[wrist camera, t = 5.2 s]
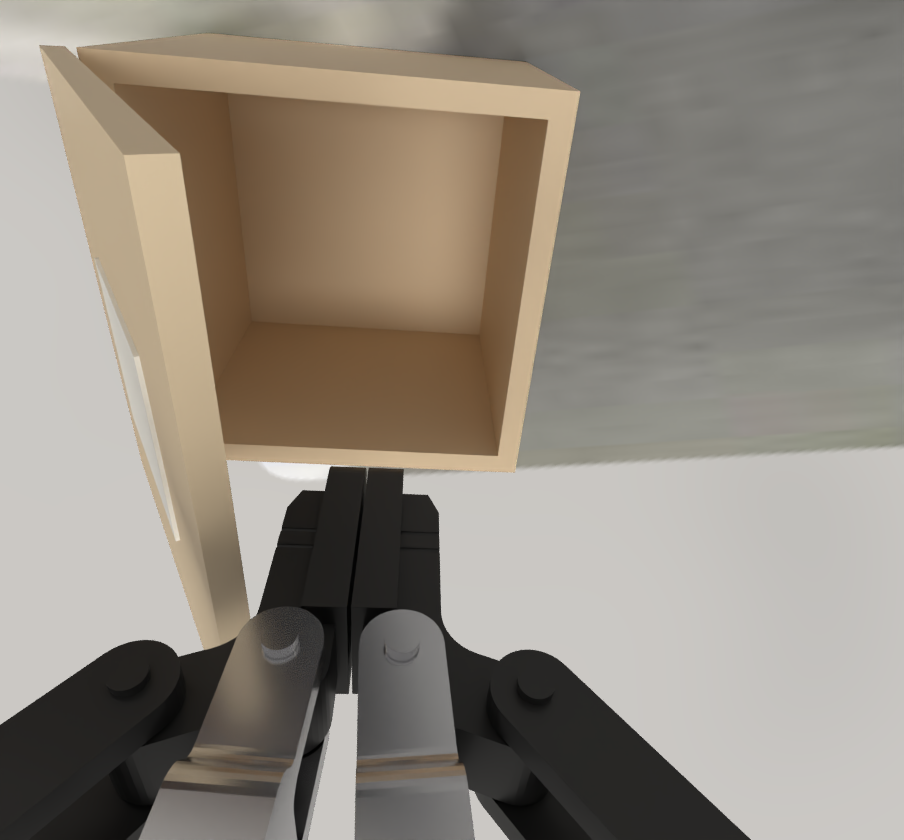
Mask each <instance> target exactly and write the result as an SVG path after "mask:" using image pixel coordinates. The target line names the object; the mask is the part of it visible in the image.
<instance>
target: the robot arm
mask: <svg viewBox="0 0 904 840" xmlns="http://www.w3.org/2000/svg"><path fill="white" fill-rule="evenodd" d="M403 472H404V469H384V468H369V470H368V477H367V471H366V468H357V467H333V466H331V467H330V470H329V474H328V479H327V483H326V488H325V491H307V490H303V491H302V492H301V493H300V494H299V495H298V496H297V497H296V498H295V499H294V501H293V502H292V503H291V504H290V505H289V506H288V507H287V511H286V514H285V518H284V521H283V525H282V531H281V532H280V536H279V539H278V543H277V548H276V550H275V553H274V557H273V561H272V564H271V568H270V571H269V575H268V579H267V582H266V586H265V589H264V593H263V596H262V600H261V604H260V607H259V610H258V613H257V615H256V616H254V617H253V618H252V619H250V620H249V621H248V622H247V623H246V624H245V625H244V626H243V628H242V629H241V630H240V632H239V634H238V636H237V637H235V638H234V639H232V640H230V641H229V642H227V643H224V644H222V645H220V646H217V647H214V648H211V649H207V650H203V651H199V652H195V653H191V654H187V655H184V656H180V657H178V656H177V654H176V653H175V652H174V650H173V649H172V648H170V647H169V646H168V645H166V644H164V643H161V642H158V641H153V640H152V641H151V640H140V641H133V642H129V643H126V644H123V645H120V646H118V647H116V648H113V649H111V650H110V651H108V652H107V653H105V654H103V655H102V656H100V657H99V658H97V659H96V660H95V661H93V662H92V663H90V664H89V665H87V666H86V667H84V668H83V669H81V670H80V671H78V672H77V673H76V674H74V675H73V676H71V677H70V678H68V679H67V680H65V681H64V682H62V683H61V684H60V685H58V686H56V687H55V688H54V689H52V690H51V691H49V692H48V693H46V694H45V695H44V696H42V697H41V698H39V699H37V700H36V701H35V702H33V703H32V704H30V705H29V706H28V707H26V708H24V709H23V710H21V711H20V712H18V713H17V714H16V715H14V716H13V717H11V718H10V719H8V720H7V721H5V722H4V723H2V724H1V725H0V840H308V835H309V830H310V825H311V820H312V816H313V811H314V807H315V802H316V797H317V792H318V788H319V782H320V778H321V773H322V769H323V764H324V759H325V754H326V750H327V745H328V740H329V729H330V726H331V722H332V716H333V708H334V701H335V694H349V686H350V677H351V668H352V693H353V694H358V719H357V721H358V722H357V768H356V794H355V795H356V798H355V840H475V838H474V829H473V821H472V813H471V805H470V797H469V789H470V790H472V791H475V793H476V796H477V798H478V800H479V801H480V803H481V804H482V806H483V807H484V808H485V810H486V811H487V812H488V813H489V815H490V816H491V817H492V818H493V820H494V821H495V822H496V823H497V825H498V826H499V827H500V828H501V830H502V831H503V832H504V834H505V835H506V836H507V837H508V839H509V840H751V839H750V838H749V837H747V836H746V835H745V834H744V833H743V832H742V831H741V830H740V829H739V828H738V827H737V826H736V825H735V824H733V823H732V822H731V821H730V820H729V819H728V818H727V817H726V816H725V815H724V814H723V813H722V812H721V811H720V810H718V808H717V807H715V806H714V805H713V804H712V803H711V802H710V801H709V800H708V799H707V798H706V797H705V796H704V795H703V794H702V793H701V792H699V791H698V790H697V789H696V788H695V787H694V786H693V785H692V784H691V783H690V782H689V781H688V780H687V779H686V778H685V777H684V776H682V775H681V774H680V773H679V772H678V771H677V770H676V769H675V768H674V767H673V766H672V765H671V764H669V762H667V760H665V759H664V758H663V757H662V756H661V755H660V754H659V753H658V752H657V751H656V750H655V749H654V748H653V747H651V745H649V744H648V743H647V742H646V741H645V740H644V739H643V738H642V737H641V736H640V735H639V734H638V733H637V732H636V731H635V730H633V729H632V728H631V727H630V726H629V725H628V724H627V723H626V722H625V721H624V720H623V719H622V718H621V717H620V716H619V715H617V714H616V713H615V712H614V711H613V710H612V709H611V708H610V707H609V706H608V705H607V704H606V703H605V702H604V701H603V700H601V699H600V698H599V697H598V696H597V695H596V694H595V693H594V692H593V691H592V690H591V689H590V688H589V687H588V686H587V685H585V683H583V682H582V681H581V680H580V679H579V678H578V677H577V676H576V675H575V674H574V673H573V672H572V671H571V670H570V669H569V668H567V667H566V666H565V665H564V664H563V663H562V662H561V661H559V660H558V659H556V658H554V657H553V656H551V655H549V654H546V653H544V652H541V651H536V650H520V651H515V652H512V653H510V654H508V655H506V656H505V657H503V658H502V659H501V660H500V661H498V660H495V659H491V658H489V657H486V656H483V655H479V654H477V653H474V652H472V651H469V650H468V649H466V648H464V647H462V646H461V645H460V644H458V643H457V642H456V641H455V640H454V639H453V638H452V637H451V636H450V634H449V633H448V632H447V630H446V628H445V626H444V624H443V621H442V617H441V594H440V554H439V513H438V511H437V509H436V508H435V506H434V504H433V503H432V501H431V499H430V498H429V496H428V495H414V494H413V495H412V494H403Z"/></svg>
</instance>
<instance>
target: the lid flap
mask: <svg viewBox="0 0 904 840" xmlns="http://www.w3.org/2000/svg"><path fill="white" fill-rule="evenodd" d="M39 46H40V50H41V54H42V58H43V62H44V66H45V70H46V74H47V78H48V83H49V87H50V91H51V95H52V99H53V103H54V107H55V111H56V115H57V119H58V123H59V127H60V131H61V135H62V139H63V143H64V147H65V152H66V156H67V160H68V164H69V168H70V172H71V176H72V180H73V184H74V188H75V192H76V196H77V200H78V204H79V208H80V213H81V216H82V220H83V225H84V229H85V233H86V237H87V241H88V245H89V249H90V253H91V257H92V261H93V265H94V269H95V273H96V277H97V282H98V285H99V290H100V294H101V297H102V301H103V306H104V310H105V314H106V318H107V322H108V326H109V330H110V334H111V338H112V342H113V346H114V351H115V354H116V359H117V363H118V367H119V371H120V375H121V379H122V383H123V387H124V391H125V395H126V399H127V403H128V408H129V411H130V415H131V420H132V423H133V428H134V431H135V436H136V440H137V444H138V448H139V452H140V456H141V460H142V463H143V466H144V469H145V472H146V476H147V478H148V482H149V485H150V488H151V491H152V494H153V497H154V500H155V503H156V506H157V509H158V512H159V515H160V518H161V521H162V524H163V527H164V530H165V533H166V536H167V539H168V542H169V545H170V548H171V551H172V554H173V557H174V560H175V563H176V567H177V570H178V572H179V575H180V579H181V581H182V584H183V588H184V591H185V594H186V597H187V599H188V603H189V606H190V609H191V612H192V615H193V618H194V621H195V624H196V627H197V630H198V633H199V636H200V639H201V642H202V645H203V648H204V650H207V649H211V648H214V647H217V646H220V645H222V644H224V643H227V642H229V641H230V640H232V639H234V638H235V637H237V636H238V634H239V632H240V630H241V629H242V628H243V626H244V625H245V624H246V623H247V622H248V621H249V620H250V613H249V607H248V600H247V594H246V587H245V580H244V574H243V567H242V561H241V554H240V547H239V541H238V534H237V528H236V521H235V514H234V508H233V501H232V495H231V488H230V481H229V475H228V468H227V462H226V455H225V448H224V442H223V435H222V429H221V422H220V416H219V409H218V402H217V396H216V389H215V383H214V376H213V369H212V363H211V356H210V350H209V343H208V336H207V330H206V323H205V317H204V310H203V303H202V297H201V290H200V284H199V277H198V270H197V264H196V257H195V251H194V244H193V238H192V231H191V224H190V218H189V211H188V205H187V198H186V191H185V185H184V178H183V172H182V165H181V158H180V153H179V152H178V151H177V150H176V149H175V148H173V147H172V146H171V145H170V144H169V143H168V142H167V141H166V140H165V139H164V138H163V137H162V136H161V135H159V134H158V133H157V132H156V131H155V130H154V129H153V128H152V127H151V126H150V125H149V124H148V123H147V122H146V121H144V120H143V119H142V118H141V117H140V116H139V115H138V114H137V113H136V112H135V111H134V110H133V109H132V108H131V107H129V106H128V105H127V104H126V103H125V102H124V101H123V100H122V99H121V98H120V97H119V96H118V95H117V94H115V93H114V92H113V91H112V90H111V89H110V88H109V87H108V86H107V85H106V84H105V83H104V82H103V81H102V80H100V79H99V78H98V77H97V76H96V75H95V74H94V73H93V72H92V71H91V70H90V69H89V68H88V67H87V66H85V65H84V64H83V63H82V62H81V61H80V60H79V59H78V58H77V57H76V56H75V55H74V54H73V53H71V52H70V51H69V50H68V49H67V48H66V47H65V46H45V45H39Z"/></svg>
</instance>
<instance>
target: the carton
mask: <svg viewBox="0 0 904 840" xmlns="http://www.w3.org/2000/svg"><path fill="white" fill-rule="evenodd" d="M76 48H77V52H78V57H79V60H80V61H81V62H82V63H83V64H84V65H85V66H87V67H88V68H89V69H90V70H91V71H92V72H93V73H94V74H95V75H96V76H97V77H98V78H99V79H100V80H102V81H103V82H104V83H105V84H106V85H107V86H108V87H109V88H110V89H111V90H112V91H113V92H114V93H115V94H117V95H118V96H119V97H120V98H121V99H122V100H123V101H124V102H125V103H126V104H127V105H128V106H129V107H131V108H132V109H133V110H134V111H135V112H136V113H137V114H138V115H139V116H140V117H141V118H142V119H143V120H144V121H146V122H147V123H148V124H149V125H150V126H151V127H152V128H153V129H154V130H155V131H156V132H157V133H158V134H159V135H161V136H162V137H163V138H164V139H165V140H166V141H167V142H168V143H169V144H170V145H171V146H172V147H173V148H175V149H176V150H177V151H178V152H179V153H180V158H181V165H182V172H183V178H184V185H185V191H186V198H187V205H188V211H189V218H190V224H191V231H192V238H193V244H194V251H195V257H196V264H197V270H198V277H199V284H200V290H201V297H202V303H203V310H204V317H205V323H206V330H207V336H208V343H209V350H210V356H211V363H212V369H213V376H214V383H215V389H216V396H217V402H218V409H219V416H220V422H221V429H222V435H223V442H224V448H225V455H226V460H239V461H240V460H241V461H261V462H284V463H307V464H330V465H353V466H376V467H399V468H421V469H444V470H467V471H490V472H513V473H514V472H515V469H516V463H517V457H518V451H519V445H520V440H521V434H522V428H523V422H524V416H525V411H526V405H527V399H528V393H529V387H530V381H531V376H532V370H533V364H534V358H535V352H536V347H537V341H538V335H539V329H540V323H541V318H542V312H543V306H544V300H545V294H546V288H547V283H548V277H549V271H550V265H551V259H552V254H553V248H554V242H555V236H556V230H557V225H558V219H559V213H560V207H561V201H562V195H563V190H564V184H565V178H566V172H567V166H568V161H569V155H570V149H571V143H572V137H573V132H574V126H575V120H576V114H577V108H578V102H579V97H580V91H578V90H577V89H575V88H573V87H571V86H569V85H567V84H566V83H564V82H562V81H560V80H558V79H557V78H555V77H553V76H551V75H549V74H547V73H546V72H544V71H542V70H540V69H538V68H537V67H535V66H533V65H531V64H529V63H527V62H523V61H512V60H501V59H490V58H479V57H468V56H457V55H445V54H434V53H423V52H412V51H401V50H390V49H379V48H368V47H357V46H346V45H335V44H324V43H313V42H302V41H291V40H280V39H269V38H258V37H246V36H235V35H224V34H213V33H203V34H194V35H184V36H175V37H166V38H157V39H148V40H139V41H130V42H121V43H112V44H103V45H94V46H85V47H76Z"/></svg>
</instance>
